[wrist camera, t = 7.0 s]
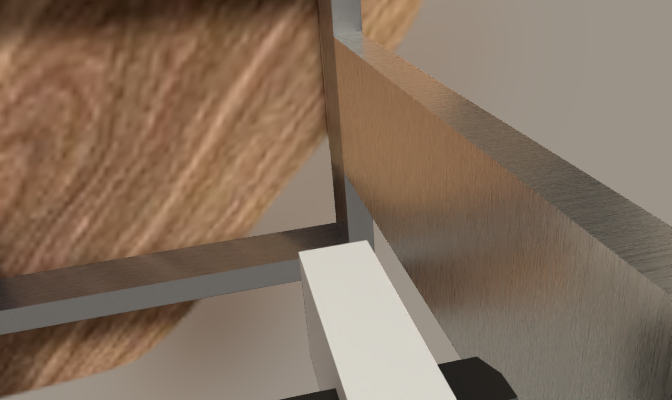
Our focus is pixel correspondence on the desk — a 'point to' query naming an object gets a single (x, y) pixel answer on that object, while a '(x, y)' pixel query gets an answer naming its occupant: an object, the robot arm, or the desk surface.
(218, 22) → the desk surface
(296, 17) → the desk surface
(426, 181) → the frame
